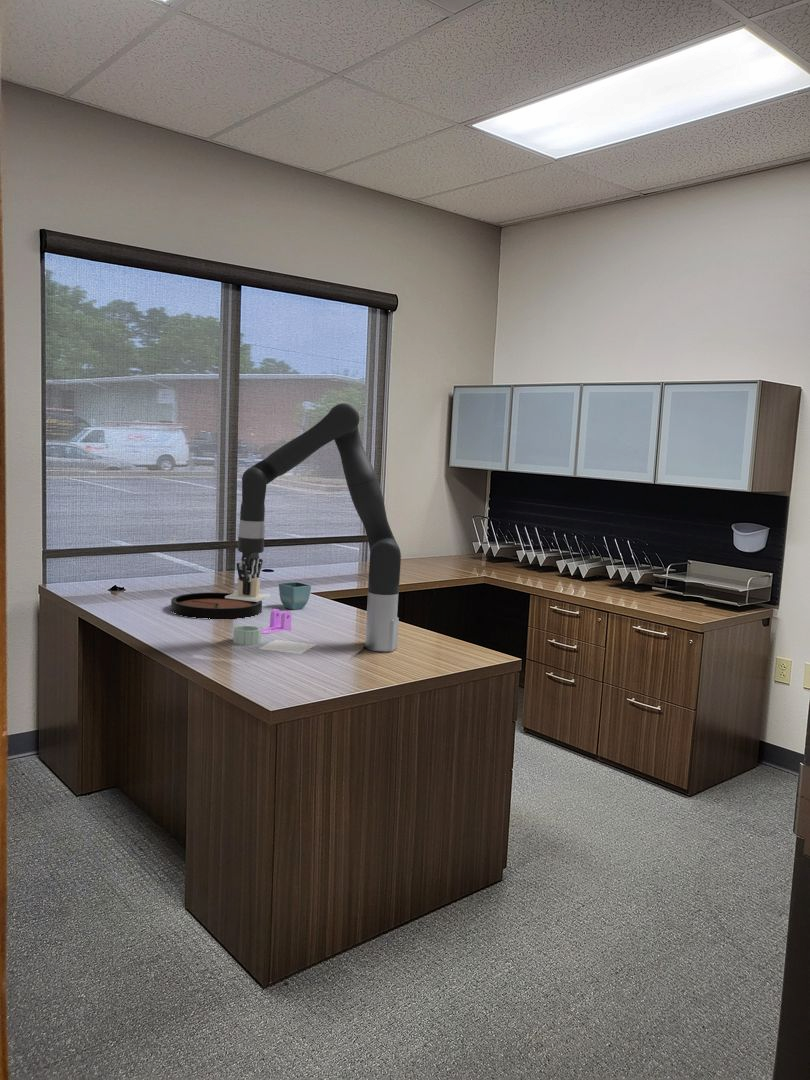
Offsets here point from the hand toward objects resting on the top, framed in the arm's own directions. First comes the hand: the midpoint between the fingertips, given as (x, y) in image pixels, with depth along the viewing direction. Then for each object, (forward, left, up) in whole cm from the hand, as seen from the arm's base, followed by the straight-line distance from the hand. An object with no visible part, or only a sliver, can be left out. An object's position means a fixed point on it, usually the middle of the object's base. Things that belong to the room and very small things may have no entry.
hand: (248, 593), depth 250 cm
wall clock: (+31, -42, -16) cm, 55 cm away
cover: (0, 0, -1) cm, 1 cm away
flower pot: (+9, -60, -16) cm, 63 cm away
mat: (-13, 0, -15) cm, 20 cm away
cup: (0, 0, -15) cm, 15 cm away
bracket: (0, -18, -16) cm, 24 cm away
